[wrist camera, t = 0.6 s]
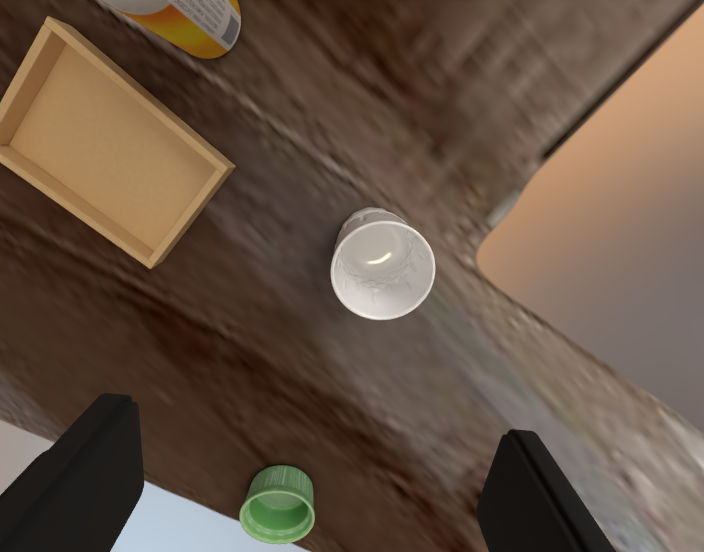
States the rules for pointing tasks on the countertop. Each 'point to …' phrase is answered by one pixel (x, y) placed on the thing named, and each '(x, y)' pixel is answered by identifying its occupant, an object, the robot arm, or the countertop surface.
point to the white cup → (381, 265)
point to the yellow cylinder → (188, 22)
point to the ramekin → (278, 505)
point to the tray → (105, 146)
